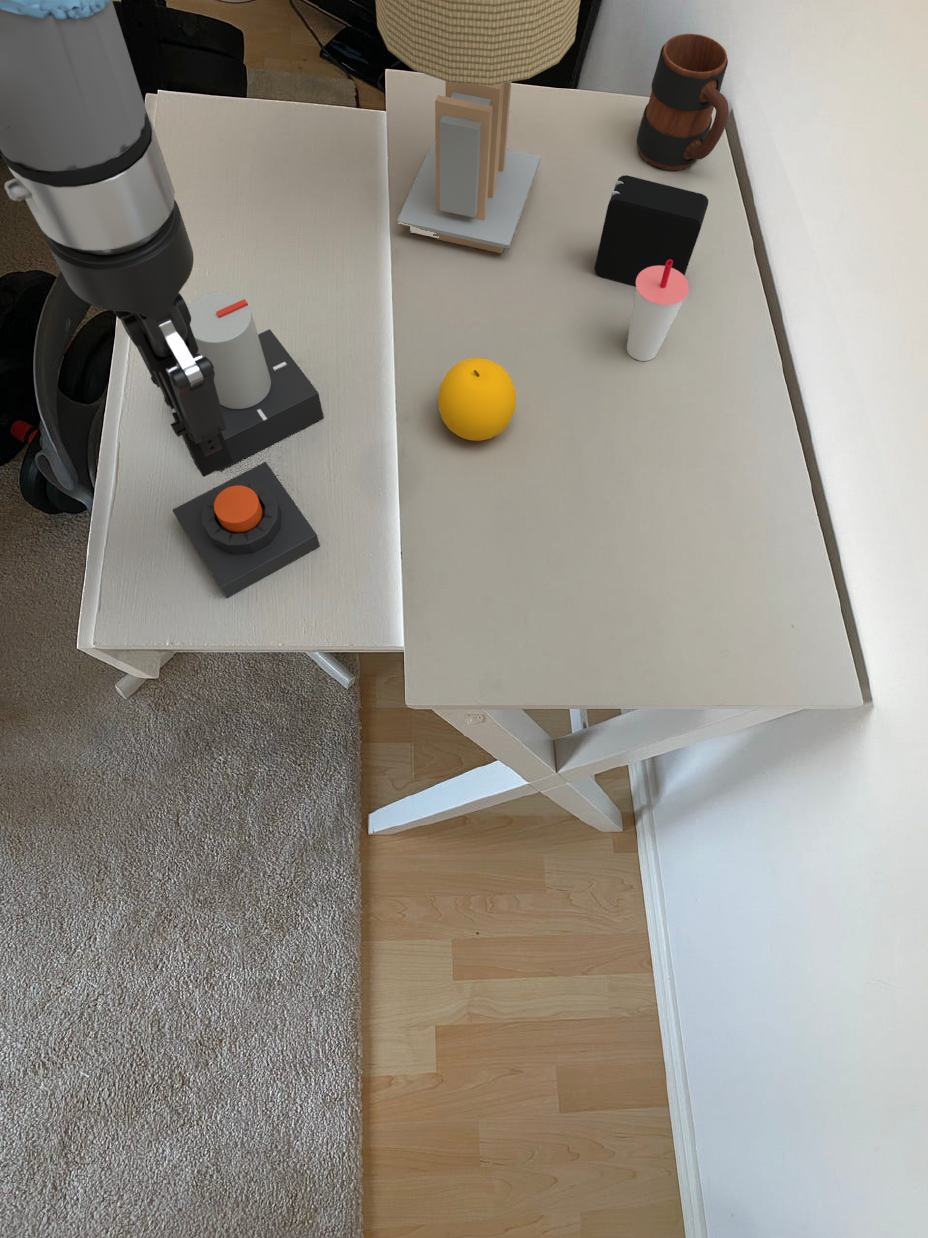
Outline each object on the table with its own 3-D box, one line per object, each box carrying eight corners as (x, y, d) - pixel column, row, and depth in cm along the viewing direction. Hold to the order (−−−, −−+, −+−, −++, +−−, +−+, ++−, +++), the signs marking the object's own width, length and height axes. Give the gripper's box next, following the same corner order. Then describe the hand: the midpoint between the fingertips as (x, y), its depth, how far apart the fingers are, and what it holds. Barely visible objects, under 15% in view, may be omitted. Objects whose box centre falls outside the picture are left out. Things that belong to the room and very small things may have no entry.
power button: (231, 540, 72) (226, 530, 70) (211, 508, 73) (205, 498, 71) (270, 519, 73) (266, 509, 71) (249, 488, 74) (245, 478, 72)
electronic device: (676, 297, 90) (703, 221, 81) (592, 275, 91) (609, 197, 82) (684, 272, 92) (711, 195, 83) (601, 250, 93) (619, 172, 84)
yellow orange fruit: (504, 460, 80) (510, 412, 74) (429, 443, 81) (428, 394, 74) (520, 399, 84) (527, 348, 77) (448, 384, 84) (449, 332, 77)
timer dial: (227, 418, 77) (200, 349, 68) (199, 378, 79) (170, 306, 70) (281, 392, 78) (262, 321, 70) (253, 353, 80) (231, 279, 72)
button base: (227, 598, 73) (215, 578, 70) (178, 521, 76) (165, 498, 73) (320, 546, 76) (314, 524, 72) (270, 474, 79) (261, 449, 75)
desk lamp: (416, 138, 100) (404, -255, 68) (566, 169, 99) (626, -219, 66) (368, 243, 93) (328, -145, 60) (529, 279, 91) (577, -101, 59)
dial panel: (220, 472, 79) (209, 446, 75) (175, 404, 82) (162, 376, 78) (324, 419, 82) (318, 392, 78) (276, 355, 85) (269, 326, 81)
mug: (674, 197, 97) (703, 102, 86) (622, 139, 101) (643, 41, 91) (731, 176, 99) (766, 80, 88) (677, 120, 103) (704, 22, 92)
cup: (634, 374, 85) (662, 286, 74) (608, 340, 87) (632, 249, 76) (675, 357, 87) (709, 268, 76) (649, 324, 88) (678, 232, 77)
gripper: (-2, 168, 45) (138, 429, 66) (93, 312, 41) (209, 541, 62) (121, 124, 47) (218, 391, 68) (223, 257, 43) (292, 498, 64)
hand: (214, 463), depth 65 cm, fingers closed
